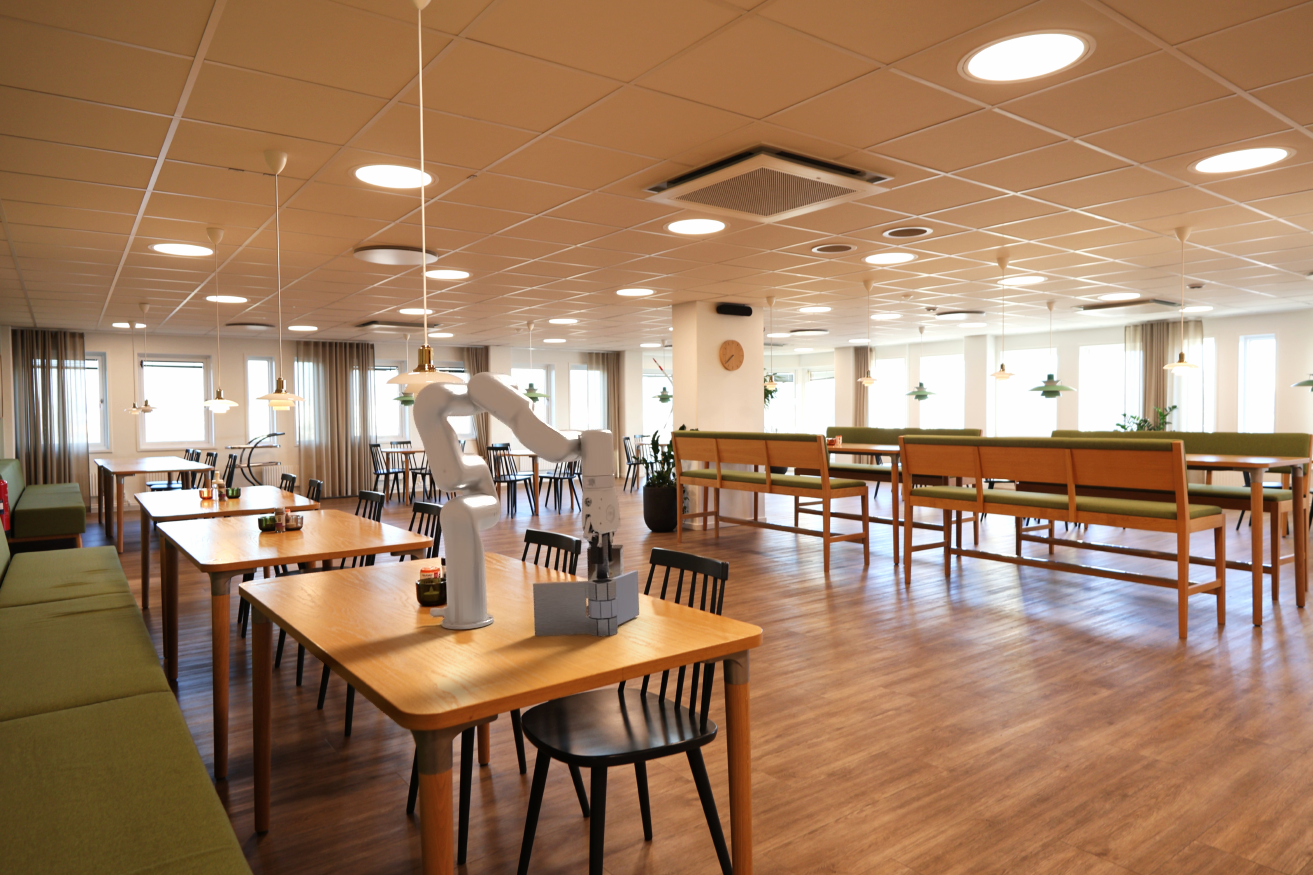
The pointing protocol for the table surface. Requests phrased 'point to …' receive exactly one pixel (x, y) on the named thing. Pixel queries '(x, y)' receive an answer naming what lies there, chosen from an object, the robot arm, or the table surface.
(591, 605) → the hinge leaf
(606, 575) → the hinge pin
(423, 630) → the table surface
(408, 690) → the table surface
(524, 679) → the table surface
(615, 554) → the coffee box
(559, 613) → the hinge frame
